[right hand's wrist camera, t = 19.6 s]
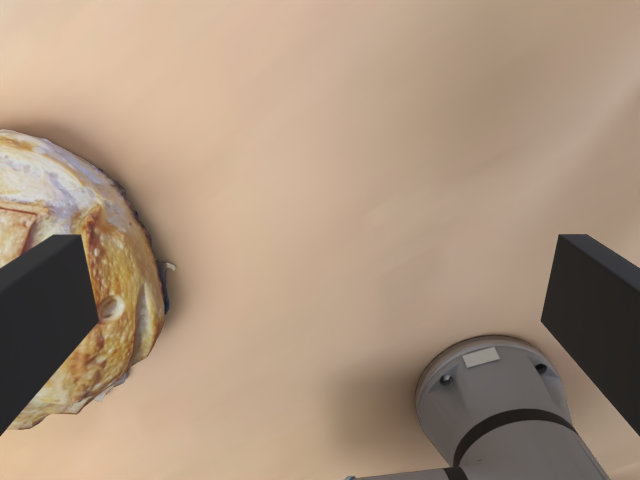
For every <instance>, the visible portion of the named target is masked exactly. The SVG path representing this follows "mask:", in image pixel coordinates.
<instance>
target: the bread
mask: <svg viewBox="0 0 640 480" xmlns="http://www.w3.org/2000/svg"><path fill="white" fill-rule="evenodd" d="M124 195H125V189H124V188H123V187H121V186H120V184H119V183H118V182H117V181H114V180H112V179H109V178H108V177H107V175H106V174H104V173H103V172H102V170H101V169H99V168H97V167H96V166H94V165H93V164H91V163H89V162H88V161H86V160H85V159H83V158H81V157H79V156H77V155H75V154H73V153H72V152H70V151H68V150H66V149H64V148H62V147H60V146H58V145H55V144H53V143H52V142H50V141H49V140H47V139H45V138H39V137H34V136H30V135H26V134H23V133H20V132H16V131H13V130H7V129H2V130H0V268H1V267H3V266H4V265H6V264H8V263H9V262H11V261H12V260H14V259H15V258H17V257H19V256H20V255H22V254H23V253H25V252H26V251H28V250H30V249H31V248H33V247H34V246H36V245H37V244H39V243H41V242H42V241H44V240H45V239H47V238H48V237H50V236H52V235H53V234H81V236H82V241H83V246H84V250H85V255H86V260H87V265H88V269H89V274H90V279H91V284H92V288H93V293H94V298H95V303H96V308H97V312H98V317H99V322H98V323H97V324H96V326H95V327H94V328H93V329H92V330H91V331H90V333H89V334H88V335H87V336H86V337H85V338H84V339H83V341H82V342H81V343H80V344H79V345H78V346H77V348H76V349H75V350H74V351H73V352H72V353H71V355H70V356H69V357H68V358H67V359H66V360H65V362H64V363H63V364H62V365H61V366H60V367H59V369H58V370H57V371H56V372H55V373H54V374H53V376H52V377H51V378H50V379H49V380H48V381H47V383H46V384H45V385H44V386H43V387H42V388H41V390H40V391H39V392H38V393H37V394H36V395H35V397H34V398H33V399H32V400H31V401H30V402H29V404H28V405H27V406H26V407H25V408H24V409H23V410H22V412H21V413H20V414H19V415H18V416H17V417H16V419H15V420H14V421H13V422H12V423H11V424H10V426H9V427H8V428H7V429H18V430H22V429H30V428H32V427H34V426H35V425H37V424H39V423H40V422H41V421H42V420H43V419H44V418H45V417H46V416H48V415H50V414H78V413H79V412H80V411H81V410H82V409H83V407H85V406H86V405H87V404H88V403H90V402H91V401H92V400H93V399H94V400H95V401H102V399H103V398H104V396H105V394H106V393H107V392H108V391H109V390H110V389H112V388H114V387H116V386H118V385H120V384H122V383H124V382H125V379H126V375H127V374H126V372H127V370H128V369H129V368H130V367H131V366H133V365H134V364H136V363H138V362H139V361H141V360H143V359H144V358H146V357H147V356H148V355H149V353H150V352H151V350H152V348H153V347H154V344H155V342H156V340H157V338H158V336H159V334H160V332H161V329H162V327H163V323H164V315H165V314H166V313H167V312H168V310H169V300H168V296H167V291H166V284H165V275H166V269H167V268H170V269H172V270H173V271H175V269H176V267H175V266H174V265H172V264H170V263H160V262H158V260H157V259H156V258H155V254H154V252H153V250H152V248H151V237H150V235H149V233H148V231H147V230H146V228H145V227H144V225H143V224H142V223H141V222H140V221H139V220H138V214H137V212H136V211H134V210H132V209H131V203H130V202H128V201H127V200H126V199H125V198H124ZM7 429H6V430H7Z"/></svg>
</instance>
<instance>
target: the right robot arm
mask: <svg viewBox="0 0 640 480" xmlns="http://www.w3.org/2000/svg"><path fill="white" fill-rule="evenodd" d="M98 322H99V317H98V312H97V308H96V303H95V298H94V293H93V288H92V284H91V279H90V274H89V269H88V265H87V260H86V255H85V250H84V246H83V241H82V236H81V234H53V235H52V236H50V237H48V238H47V239H45V240H44V241H42V242H41V243H39V244H37V245H36V246H34V247H33V248H31V249H30V250H28V251H26V252H25V253H23V254H22V255H20V256H19V257H17V258H15V259H14V260H12V261H11V262H9V263H8V264H6V265H4V266H3V267H1V268H0V436H1V435H2V434H3V433H4V431H5V430H6V429H7V428H8V427H9V426H10V424H11V423H12V422H13V421H14V420H15V419H16V417H17V416H18V415H19V414H20V413H21V412H22V410H23V409H24V408H25V407H26V406H27V405H28V404H29V402H30V401H31V400H32V399H33V398H34V397H35V395H36V394H37V393H38V392H39V391H40V390H41V388H42V387H43V386H44V385H45V384H46V383H47V381H48V380H49V379H50V378H51V377H52V376H53V374H54V373H55V372H56V371H57V370H58V369H59V367H60V366H61V365H62V364H63V363H64V362H65V360H66V359H67V358H68V357H69V356H70V355H71V353H72V352H73V351H74V350H75V349H76V348H77V346H78V345H79V344H80V343H81V342H82V341H83V339H84V338H85V337H86V336H87V335H88V334H89V333H90V331H91V330H92V329H93V328H94V327H95V326H96V324H97V323H98ZM541 322H542V323H543V324H544V326H545V327H546V328H547V329H548V330H549V331H550V333H551V334H552V335H553V336H554V337H555V338H556V339H557V341H558V342H559V343H560V344H561V345H562V346H563V348H564V349H565V350H566V351H567V352H568V353H569V355H570V356H571V357H572V358H573V359H574V360H575V362H576V363H577V364H578V365H579V366H580V367H581V369H582V370H583V371H584V372H585V373H586V374H587V376H588V377H589V378H590V379H591V380H592V381H593V383H594V384H595V385H596V386H597V387H598V388H599V390H600V391H601V392H602V393H603V394H604V395H605V397H606V398H607V399H608V400H609V401H610V402H611V404H612V405H613V406H614V407H615V408H616V409H617V410H618V412H619V413H620V414H621V415H622V416H623V417H624V419H625V420H626V421H627V422H628V423H629V424H630V426H631V427H632V428H633V429H634V430H635V431H636V433H637V434H638V435H639V436H640V268H639V267H637V266H636V265H634V264H632V263H631V262H629V261H628V260H626V259H625V258H623V257H621V256H620V255H618V254H617V253H615V252H614V251H612V250H610V249H609V248H607V247H606V246H604V245H603V244H601V243H599V242H598V241H596V240H595V239H593V238H592V237H590V236H588V235H587V234H559V236H558V241H557V246H556V250H555V255H554V260H553V265H552V269H551V274H550V279H549V284H548V288H547V293H546V298H545V303H544V308H543V312H542V317H541ZM415 405H416V410H417V414H418V418H419V421H420V425H421V427H422V430H423V431H424V433H425V435H426V436H427V438H428V439H429V440H430V441H431V443H432V444H433V445H434V446H435V448H436V449H437V450H438V452H439V453H440V454H441V455H442V457H443V458H444V459H445V461H446V462H447V463H448V464H449V466H450V468H441V469H432V470H423V471H415V472H406V473H397V474H388V475H380V476H371V477H362V478H355V476H348V477H347V478H346V479H345V480H610V478H609V477H608V475H607V474H606V473H605V471H604V470H603V468H602V467H601V465H600V464H599V463H598V461H597V460H596V458H595V457H594V456H593V454H592V453H591V451H590V450H589V449H588V447H587V446H586V444H585V443H584V441H583V440H582V439H581V437H580V436H579V435H578V433H577V432H576V430H575V429H574V427H573V425H572V421H571V417H570V413H569V409H568V405H567V401H566V397H565V393H564V389H563V385H562V381H561V379H560V376H559V374H558V373H557V371H556V370H555V368H554V367H553V366H552V364H551V363H550V362H549V360H548V359H547V358H546V357H545V355H544V354H543V353H542V352H541V351H539V350H538V349H537V348H535V347H534V346H532V345H531V344H529V343H527V342H524V341H522V340H519V339H516V338H512V337H506V336H484V337H477V338H473V339H469V340H466V341H463V342H461V343H458V344H456V345H454V346H452V347H450V348H448V349H447V350H445V351H444V352H442V353H441V354H440V355H438V356H437V357H436V358H435V359H434V360H433V361H432V362H431V363H430V364H429V365H428V367H427V368H426V369H425V370H424V372H423V374H422V375H421V377H420V379H419V382H418V385H417V388H416V393H415Z"/></svg>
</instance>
